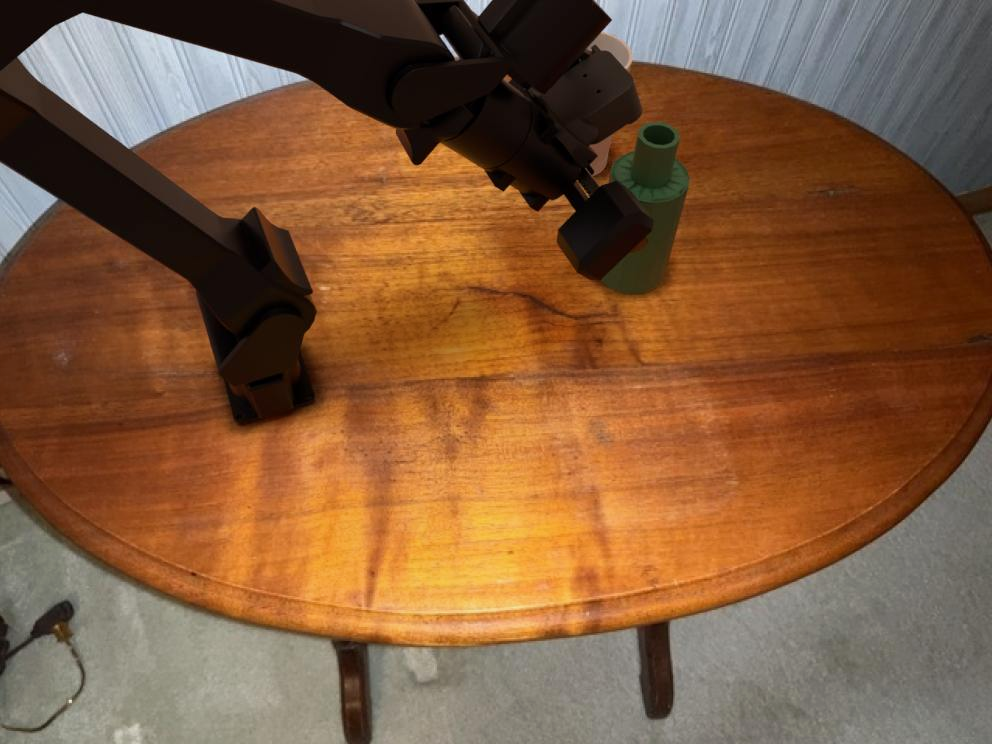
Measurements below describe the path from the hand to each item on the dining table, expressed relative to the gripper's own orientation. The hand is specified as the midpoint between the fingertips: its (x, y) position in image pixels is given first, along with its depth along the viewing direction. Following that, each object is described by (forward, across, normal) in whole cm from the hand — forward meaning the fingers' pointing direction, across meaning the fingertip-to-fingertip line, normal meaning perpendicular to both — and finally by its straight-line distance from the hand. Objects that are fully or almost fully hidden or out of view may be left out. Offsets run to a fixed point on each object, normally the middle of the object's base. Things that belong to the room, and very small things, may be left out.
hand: (615, 209), depth 68 cm
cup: (+10, +16, +2) cm, 19 cm away
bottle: (+8, 0, +4) cm, 9 cm away
